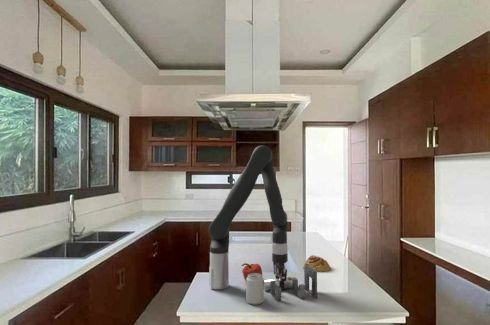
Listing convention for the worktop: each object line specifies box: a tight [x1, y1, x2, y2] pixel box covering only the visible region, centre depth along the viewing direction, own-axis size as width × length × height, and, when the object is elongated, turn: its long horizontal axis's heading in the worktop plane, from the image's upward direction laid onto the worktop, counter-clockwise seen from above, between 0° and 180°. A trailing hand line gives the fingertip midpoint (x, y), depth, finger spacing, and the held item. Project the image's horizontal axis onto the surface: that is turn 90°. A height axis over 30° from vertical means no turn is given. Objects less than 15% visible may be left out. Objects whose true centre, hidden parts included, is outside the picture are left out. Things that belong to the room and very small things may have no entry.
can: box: [245, 273, 264, 306], centre depth 154 cm, size 8×8×12 cm
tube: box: [263, 276, 297, 292], centre depth 170 cm, size 16×5×5 cm, turn 103°
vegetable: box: [241, 262, 263, 282], centre depth 179 cm, size 11×10×10 cm
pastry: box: [302, 254, 332, 273], centre depth 202 cm, size 13×15×8 cm
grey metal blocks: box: [269, 280, 282, 302], centre depth 159 cm, size 2×10×6 cm, turn 13°
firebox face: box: [303, 263, 318, 300], centre depth 163 cm, size 1×12×12 cm, turn 13°
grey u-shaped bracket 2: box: [292, 277, 306, 300], centre depth 162 cm, size 2×10×6 cm, turn 13°
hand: (280, 286), depth 170 cm, fingers open, 5 cm apart
